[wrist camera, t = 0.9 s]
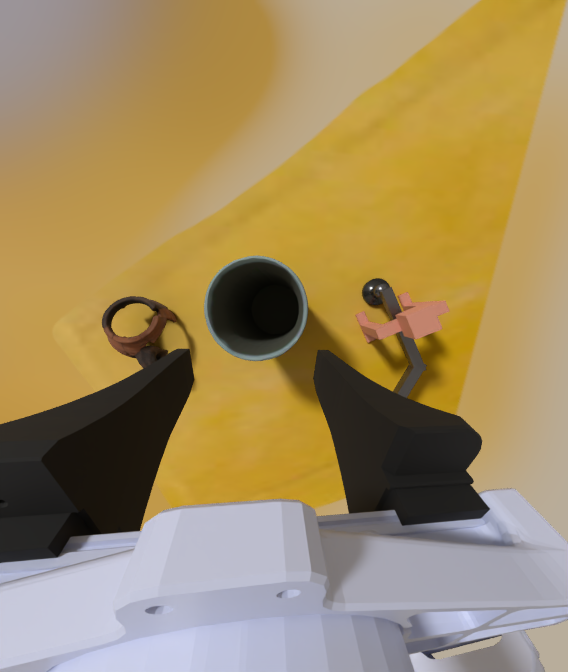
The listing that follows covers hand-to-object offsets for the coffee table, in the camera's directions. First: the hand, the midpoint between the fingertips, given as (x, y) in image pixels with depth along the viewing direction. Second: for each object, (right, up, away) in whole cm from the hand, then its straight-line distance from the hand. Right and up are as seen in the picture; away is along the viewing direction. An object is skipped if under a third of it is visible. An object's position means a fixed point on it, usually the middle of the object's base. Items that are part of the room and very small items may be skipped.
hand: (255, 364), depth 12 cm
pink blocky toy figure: (+16, +4, +17) cm, 24 cm away
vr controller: (-20, +2, +23) cm, 30 cm away
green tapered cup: (0, +6, +20) cm, 20 cm away
